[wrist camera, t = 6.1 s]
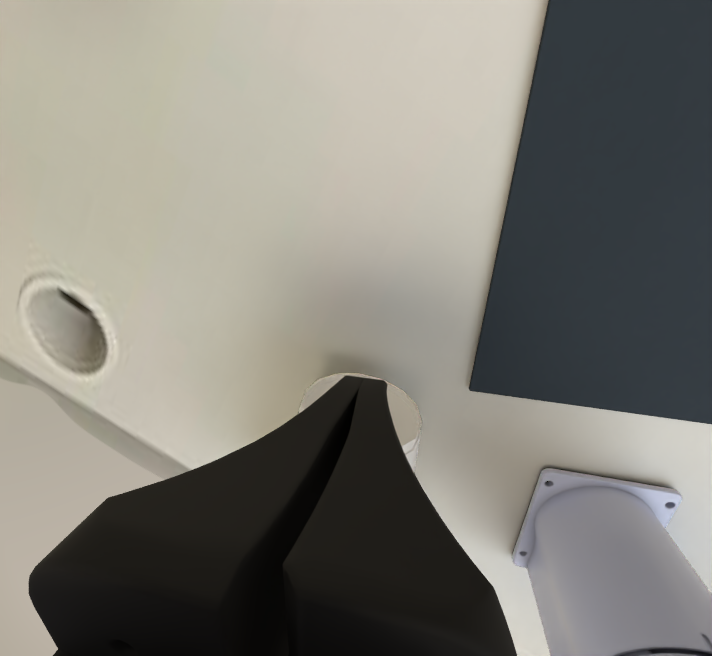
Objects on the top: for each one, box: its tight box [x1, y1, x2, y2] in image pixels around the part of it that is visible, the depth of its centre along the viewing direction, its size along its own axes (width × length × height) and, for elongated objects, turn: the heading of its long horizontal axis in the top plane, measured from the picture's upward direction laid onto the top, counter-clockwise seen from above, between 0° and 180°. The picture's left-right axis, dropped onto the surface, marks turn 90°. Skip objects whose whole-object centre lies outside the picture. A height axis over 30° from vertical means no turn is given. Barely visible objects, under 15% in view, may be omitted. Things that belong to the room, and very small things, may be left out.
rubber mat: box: [469, 0, 712, 424], centre depth 16 cm, size 20×14×1 cm
